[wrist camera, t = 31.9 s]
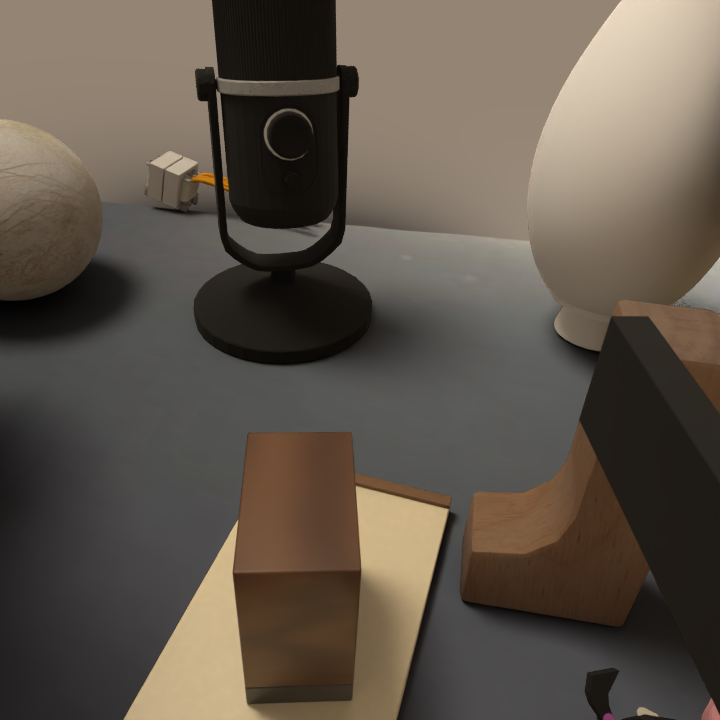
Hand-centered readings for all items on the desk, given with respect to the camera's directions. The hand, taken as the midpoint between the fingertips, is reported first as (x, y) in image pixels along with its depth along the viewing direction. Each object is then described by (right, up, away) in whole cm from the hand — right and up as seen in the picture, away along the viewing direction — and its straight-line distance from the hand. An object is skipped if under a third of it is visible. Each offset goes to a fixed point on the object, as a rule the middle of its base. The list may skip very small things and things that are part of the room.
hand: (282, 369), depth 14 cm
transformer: (-14, +17, +61) cm, 65 cm away
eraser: (-2, -14, +22) cm, 26 cm away
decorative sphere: (-29, +7, +49) cm, 57 cm away
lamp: (+22, +3, +48) cm, 53 cm away
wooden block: (+12, -13, +26) cm, 31 cm away
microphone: (-5, +4, +48) cm, 49 cm away
